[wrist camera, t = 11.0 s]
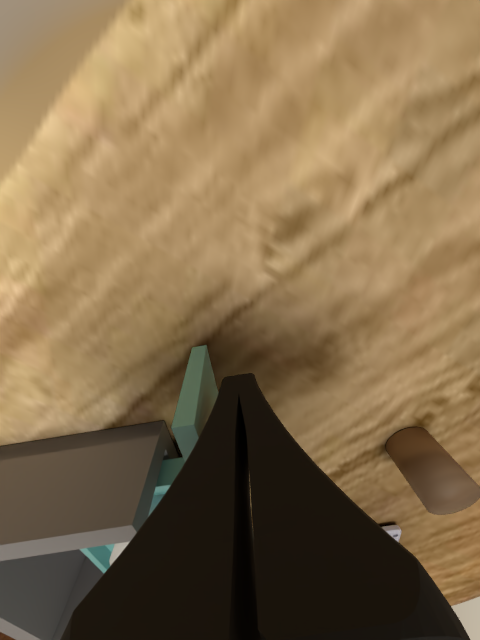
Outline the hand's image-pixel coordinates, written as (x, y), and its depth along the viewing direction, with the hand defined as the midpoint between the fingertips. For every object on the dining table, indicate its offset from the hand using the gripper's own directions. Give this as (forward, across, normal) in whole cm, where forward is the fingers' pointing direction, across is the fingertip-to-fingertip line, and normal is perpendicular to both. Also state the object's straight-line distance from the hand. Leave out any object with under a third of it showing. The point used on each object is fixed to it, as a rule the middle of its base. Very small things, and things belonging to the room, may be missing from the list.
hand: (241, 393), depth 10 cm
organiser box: (+2, +10, +10) cm, 15 cm away
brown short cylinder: (+2, -11, +9) cm, 14 cm away
